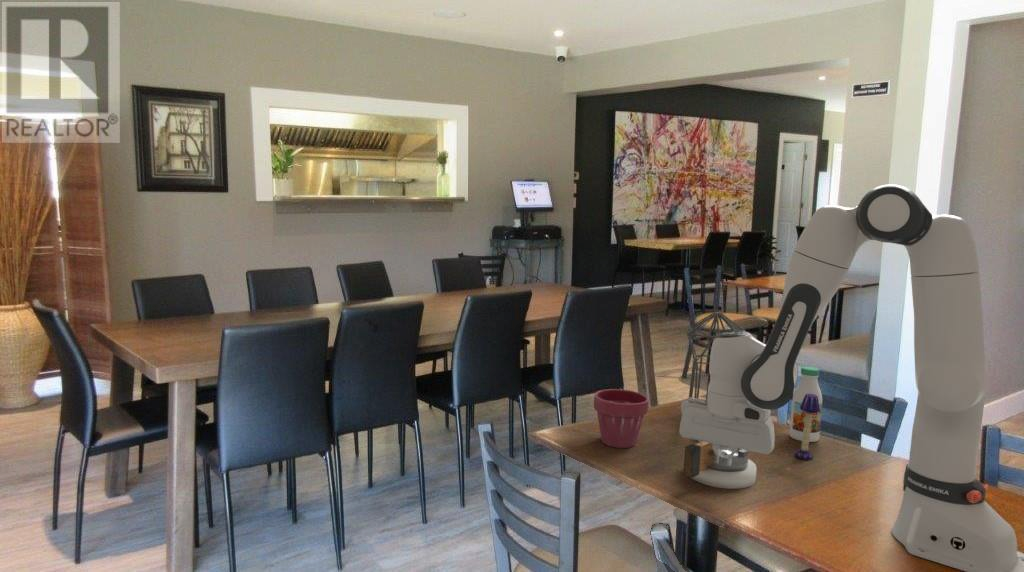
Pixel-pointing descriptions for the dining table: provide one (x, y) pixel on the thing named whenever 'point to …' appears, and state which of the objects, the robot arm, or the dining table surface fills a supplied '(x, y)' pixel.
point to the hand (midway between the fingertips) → (723, 463)
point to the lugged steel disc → (711, 459)
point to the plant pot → (620, 416)
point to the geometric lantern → (697, 327)
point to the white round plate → (728, 477)
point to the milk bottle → (804, 387)
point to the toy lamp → (807, 424)
